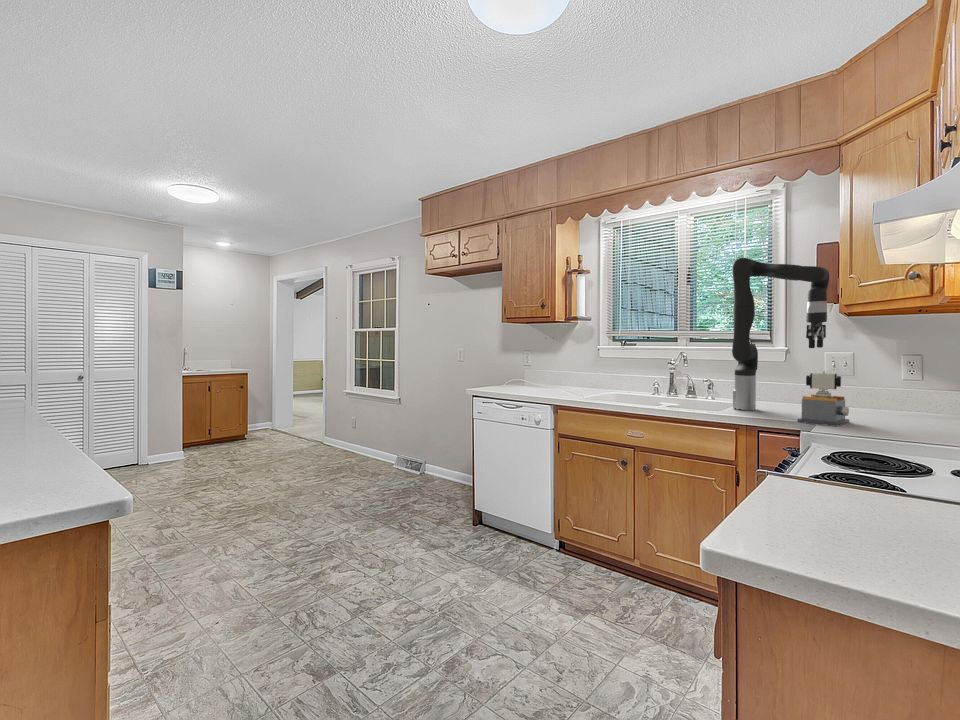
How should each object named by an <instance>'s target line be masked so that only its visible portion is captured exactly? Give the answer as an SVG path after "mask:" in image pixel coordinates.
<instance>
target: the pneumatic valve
mask: <svg viewBox="0 0 960 720" xmlns="http://www.w3.org/2000/svg"><path fill="white" fill-rule="evenodd" d="M805 385H806V386H807V387H808V386H809V389H818V390H817V392H815V393H814V395H815V397H821V398H831V396H832V393H831V392H830V391H828V390H837V388H838V387H839V388H841V387H842V376H841V375H838V373H832V372H831V373H829V372H828V373H826V371H825V370H822V371H821V372H820V373H819V372H818V373H817V372H810V374H809V375H808V374H807V375H806V376H805Z"/></svg>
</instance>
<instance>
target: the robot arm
mask: <svg viewBox="0 0 960 720" xmlns="http://www.w3.org/2000/svg"><path fill="white" fill-rule="evenodd" d="M731 273H732V279H733V280H732V281H733V282H732V283H733V340H732V348H731V354H732V355H731V356H732V357H733V359H734V360H735V361H736V362H737V366H736V368H735V369H734V389H733V390H732V409H733V408H736V409H735V410H738V409H741V410H740V411H755V410H754V409H756V410H757V408H756V406H757V402H756V401H757V400H756V398H757V397H756V396H757V393H756V392H757V388H756V387H757V386H756V385H757V384H756V383H757V382H756V378H757V376H756V374H757V370H758V361H759V360H758V358H759V352H758V348H757V346H756V345H755V344H754V343H751V342H750V334H751V333H750V332H751V329H752V327H753V323H754V320H755V315H756V314H755V309H756V308H755V305H756V304H755V299H754V296H753V293H752V289H751V284H750V283H751V282H750V281H751V278H752V277H768V278H773V279H780V280H787V281H797V282H798V281H801V282H809V283H810V289H809V290H807V291H808V292H807V305H806V323H809V324H807V325H806V333H805V334H806V335H805V337H806V339H807V340H808V348H809V349H815V348H819V349H820V348H823V347H824V340H825V338H826V337H827V335H826V333H827V331H826V329H827V325H826V324H823V323H826V322H828V298H827V297H828V292H827V291H828V287H829V283H830V282H829V281H830V273H829V270H828V269H827V268H825V267H822V266H812V265H797V264H791V263H790V264H788V263H766V262H762V261H757V260H754V259H752V258H747V257H739V258H737V259H736V260H735V261H734V262H733V263H732V266H731Z"/></svg>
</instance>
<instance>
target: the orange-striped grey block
mask: <svg viewBox="0 0 960 720" xmlns="http://www.w3.org/2000/svg"><path fill="white" fill-rule="evenodd" d="M849 413H850V408H849V406H846V398H845V396H839V395H831V398H821V397H815V394H810V396H809V395H807V396H806V395H802V399H801V417H800V418H798V419H797V422H798V423H803V422H806V423H805V424H812V423H813V424H815V425H821V424H828V425H827V426H830V425H839V426H841V425H840V424H842V425H845V424H848V423H850V418H846V417H848V416H849ZM844 423H845V424H844Z"/></svg>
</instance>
